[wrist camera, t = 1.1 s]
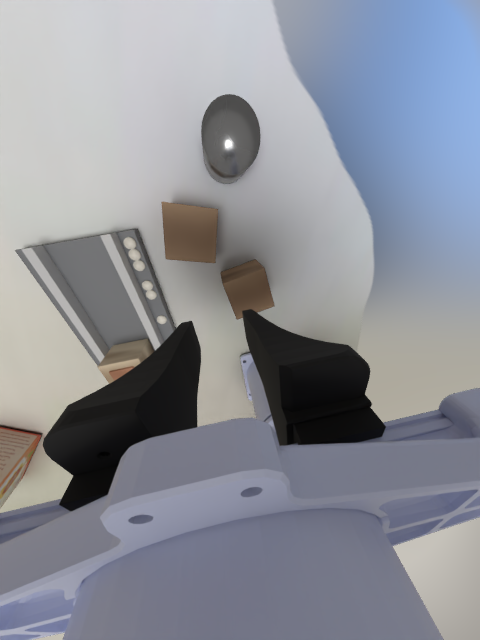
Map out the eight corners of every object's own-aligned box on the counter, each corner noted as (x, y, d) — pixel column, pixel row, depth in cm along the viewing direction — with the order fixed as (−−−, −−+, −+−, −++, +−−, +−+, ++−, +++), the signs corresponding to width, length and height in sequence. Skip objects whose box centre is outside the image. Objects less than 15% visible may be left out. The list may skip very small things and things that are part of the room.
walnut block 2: (264, 291, 22) (274, 306, 19) (232, 303, 23) (236, 319, 19) (255, 259, 20) (264, 268, 17) (220, 272, 21) (222, 283, 17)
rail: (187, 359, 26) (185, 370, 24) (111, 374, 25) (103, 388, 23) (137, 228, 17) (128, 230, 16) (24, 248, 17) (1, 252, 15)
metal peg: (249, 180, 17) (262, 169, 13) (209, 187, 17) (209, 178, 12) (243, 125, 15) (257, 90, 11) (198, 131, 15) (194, 98, 11)
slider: (160, 363, 24) (152, 387, 21) (128, 370, 24) (115, 395, 21) (148, 338, 22) (137, 359, 19) (112, 345, 22) (96, 368, 19)
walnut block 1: (214, 254, 20) (215, 263, 16) (173, 250, 19) (165, 259, 15) (216, 209, 18) (217, 209, 14) (171, 203, 17) (161, 201, 14)
